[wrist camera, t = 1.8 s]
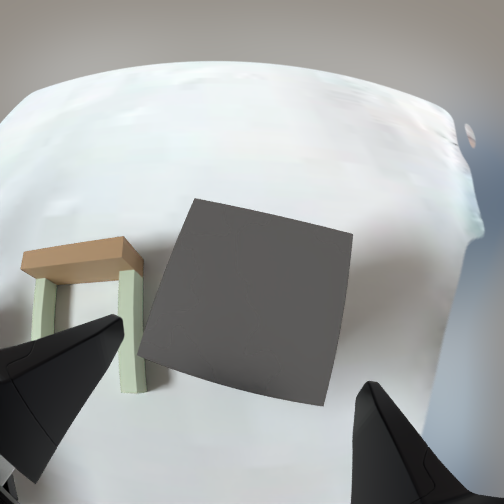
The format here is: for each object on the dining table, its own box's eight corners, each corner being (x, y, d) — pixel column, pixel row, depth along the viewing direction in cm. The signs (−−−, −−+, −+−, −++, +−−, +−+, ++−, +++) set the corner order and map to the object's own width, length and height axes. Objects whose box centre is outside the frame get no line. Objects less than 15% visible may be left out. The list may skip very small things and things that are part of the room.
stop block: (276, 382, 17) (323, 406, 5) (210, 365, 17) (136, 355, 6) (291, 319, 19) (353, 234, 7) (228, 303, 19) (194, 198, 8)
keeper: (146, 392, 16) (122, 395, 13) (45, 381, 16) (13, 378, 12) (143, 259, 20) (123, 236, 17) (50, 270, 20) (23, 251, 16)
